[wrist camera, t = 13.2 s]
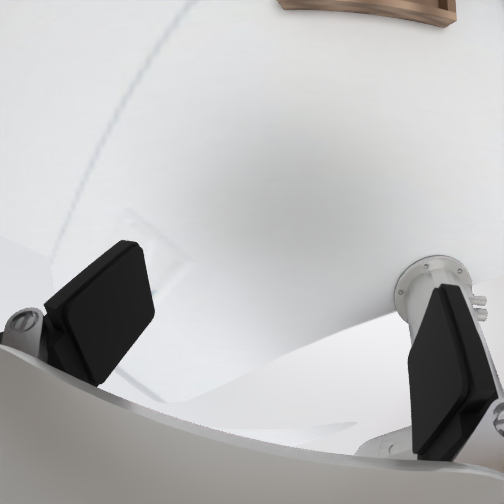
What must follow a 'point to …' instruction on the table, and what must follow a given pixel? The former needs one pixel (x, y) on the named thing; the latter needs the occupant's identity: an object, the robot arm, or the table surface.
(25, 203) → the table surface
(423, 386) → the robot arm
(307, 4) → the box
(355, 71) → the table surface
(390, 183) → the table surface
